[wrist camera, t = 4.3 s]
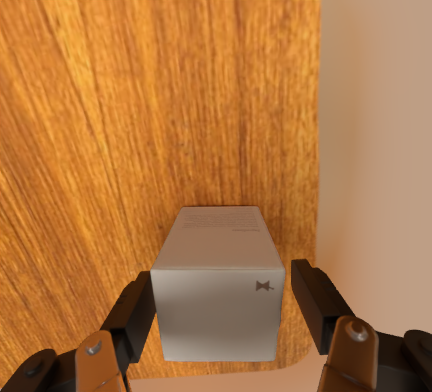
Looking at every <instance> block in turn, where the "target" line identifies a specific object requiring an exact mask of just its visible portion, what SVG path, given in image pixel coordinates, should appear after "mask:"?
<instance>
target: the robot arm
mask: <svg viewBox="0 0 432 392" xmlns="http://www.w3.org/2000/svg"><path fill="white" fill-rule="evenodd" d="M291 285H292V290H293V293H294V295H295V298H296V300H297V302H298V305H299V307H300V309H301V312H302V314H303V316H304V319H305V321H306V324H307V326H308V328H309V331H310V333H311V335H312V338H313V340H314V342H315V345H316V347H317V349H318V352H319V354H320V355H328V357H327V361H326V364H324V367H323V370H322V374H321V378H320V382H319V386H318V390H317V392H432V334H430V333H427V332H424V331H421V330H409V331H407V332H406V333H405V334H404V338H403V337H398V336H394V335H390V334H385V333H381V332H378V331H375V330H374V329H373V328H372V327H371V326H370V325H369V324H368V323H367V322H365V321H364V320H362V319H360V318H357V317H356V316H355V314H354V313H353V312H352V310H351V309H350V307H349V306H348V305H347V303H346V302H345V300H344V299H343V297H342V296H341V294H340V293H339V292H338V290H336V287H335V286H334V284H333V283H332V282H331V280H330V279H329V278H328V276H327V274H325V273H324V272H323V271H322V270H320V269H319V268H312V267H311V266H310V264H309V262H308V261H307V260H306V259H296V260H292V261H291ZM155 313H156V306H155V300H154V293H153V286H152V280H151V274H150V271H141V272H140V273H139V275H138V277H137V278H136V280H135V281H131V282H130V283H129V284H128V285H127V286H126V287H125V288H124V289H123V291H122V293H121V295H120V297H119V298H118V300H117V301H116V304H115V305H114V306H113V308H112V310H111V311H110V313H109V315H108V316H107V318H106V320H105V321H104V323H103V325H102V326H101V328H100V330H99V331H97V332H95V333H93V334H91V335H89V336H88V337H87V338H86V339H85V340H84V341H83V342H82V343H81V344H80V345H79V347H78V348H77V349H74V350H71V351H69V352H66V353H63V354H60V355H58V356H57V354H56V353H55V351H54V350H53V349H44V350H41V351H39V352H37V353H35V354H34V355H32V356H31V357H29V358H28V359H27V360H26V361H24V362H23V363H22V364H21V365H20V367H19V368H18V369H17V370H16V371H15V373H14V374H13V375H12V377H11V378H10V379H9V380H8V382H7V383H6V384H5V385H4V387H3V388H2V389H1V391H0V392H132V391H131V387H130V383H129V379H128V375H127V372H126V371H127V369H128V366H129V364H130V363H138V362H139V359H140V356H141V353H142V351H143V348H144V345H145V342H146V339H147V336H148V333H149V331H150V328H151V325H152V322H153V319H154V316H155Z"/></svg>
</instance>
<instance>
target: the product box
mask: <svg viewBox="0 0 432 392" xmlns="http://www.w3.org/2000/svg"><path fill="white" fill-rule="evenodd" d="M150 274H151V280H152V286H153V293H154V300H155V306H156V313H157V319H158V325H159V332H160V338H161V344H162V349H163V356H164V359H165V360H166V361H179V362H196V361H201V362H203V361H247V362H259V361H274V360H275V356H276V347H277V337H278V330H279V327H280V321H281V305H282V297H283V289H284V281H285V274H286V273H285V268H284V266H283V263H282V261H281V259H280V256H279V254H278V252H277V249H276V247H275V245H274V242H273V240H272V238H271V236H270V233H269V231H268V228H267V226H266V224H265V221H264V219H263V217H262V215H261V212H260V210H259V208H258V207H257V206H220V207H182V208H181V210H180V212H179V214H178V216H177V218H176V220H175V222H174V224H173V226H172V228H171V230H170V232H169V234H168V236H167V238H166V240H165V242H164V244H163V246H162V248H161V250H160V252H159V254H158V256H157V258H156V260H155V262H154V264H153V266H152V268H151V270H150Z"/></svg>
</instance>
